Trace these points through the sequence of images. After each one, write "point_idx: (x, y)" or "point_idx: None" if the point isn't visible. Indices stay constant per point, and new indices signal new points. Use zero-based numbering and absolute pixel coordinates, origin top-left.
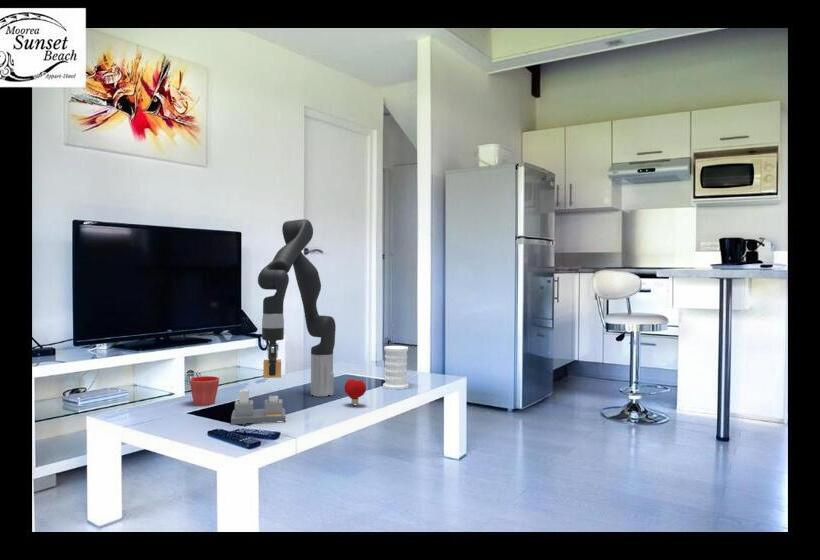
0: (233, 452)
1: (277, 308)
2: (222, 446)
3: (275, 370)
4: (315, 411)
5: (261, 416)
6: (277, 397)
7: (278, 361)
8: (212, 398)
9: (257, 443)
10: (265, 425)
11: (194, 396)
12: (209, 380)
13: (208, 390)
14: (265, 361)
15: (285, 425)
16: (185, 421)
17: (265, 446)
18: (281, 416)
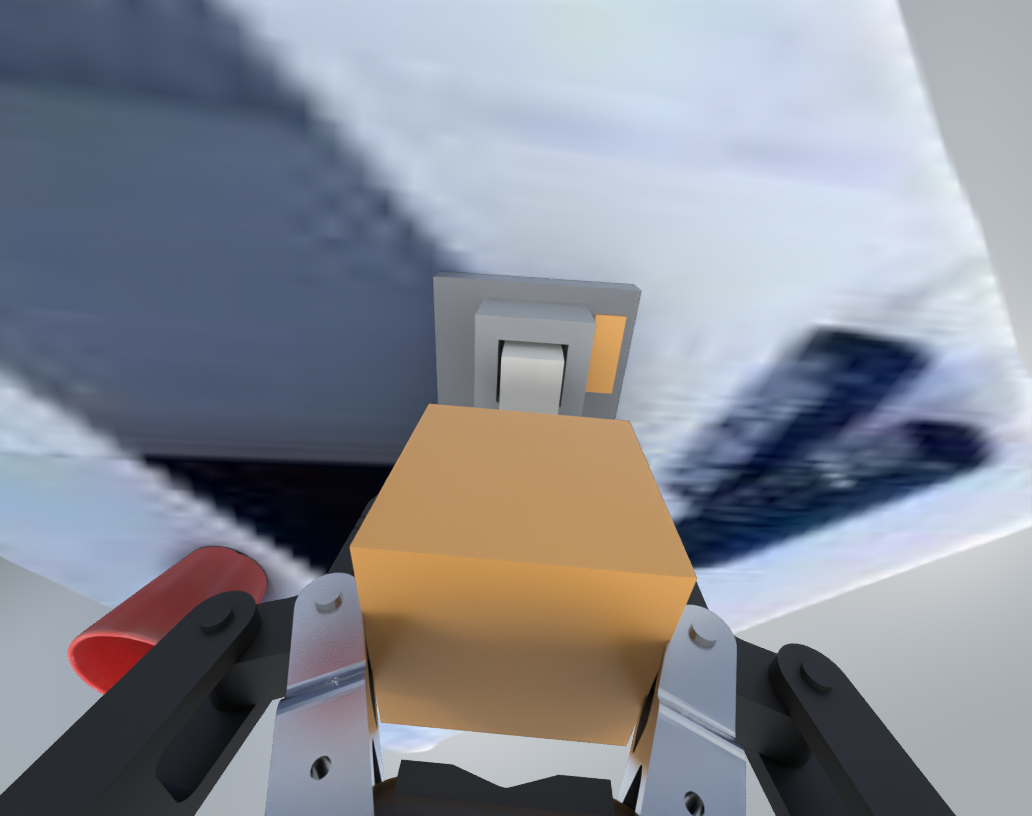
0: (986, 510)
1: None
2: (881, 536)
3: None
4: (406, 26)
5: (600, 412)
6: (563, 364)
7: (631, 608)
8: (230, 572)
9: (936, 433)
10: (659, 385)
11: None
12: (97, 641)
13: None
14: (566, 726)
15: (704, 290)
16: None
17: (1007, 408)
18: (636, 313)
